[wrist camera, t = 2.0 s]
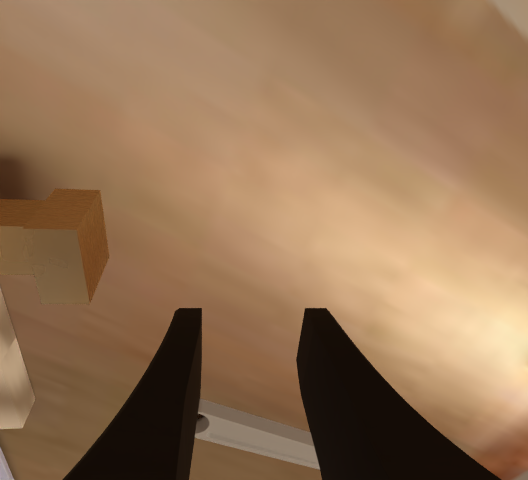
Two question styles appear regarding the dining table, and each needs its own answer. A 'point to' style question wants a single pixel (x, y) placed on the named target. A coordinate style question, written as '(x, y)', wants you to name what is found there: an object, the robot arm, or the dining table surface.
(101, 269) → the tan headed bar
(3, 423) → the socket block
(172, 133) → the dining table surface
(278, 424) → the adjustable wrench
